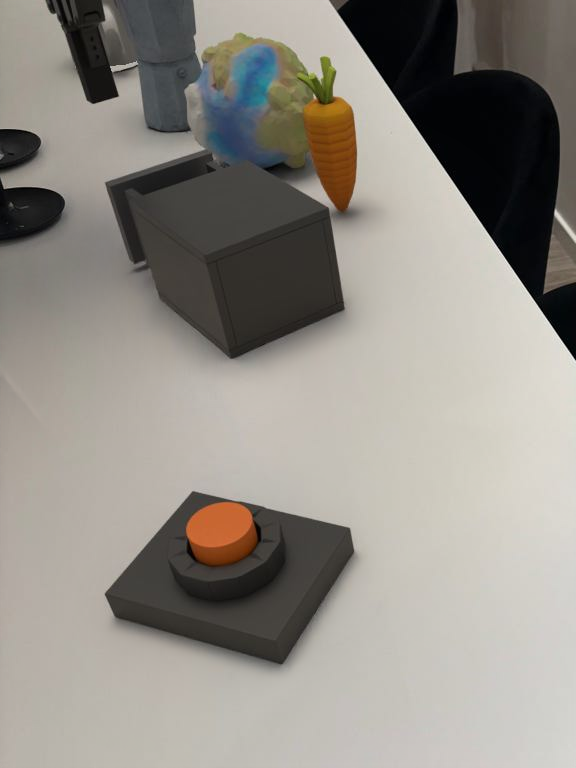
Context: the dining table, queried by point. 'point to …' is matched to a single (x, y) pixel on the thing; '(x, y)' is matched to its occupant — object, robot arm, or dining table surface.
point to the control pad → (235, 582)
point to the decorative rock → (250, 103)
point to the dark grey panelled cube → (240, 255)
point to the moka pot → (163, 57)
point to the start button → (222, 534)
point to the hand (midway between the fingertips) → (102, 98)
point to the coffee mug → (115, 37)
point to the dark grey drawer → (147, 183)
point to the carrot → (331, 136)
